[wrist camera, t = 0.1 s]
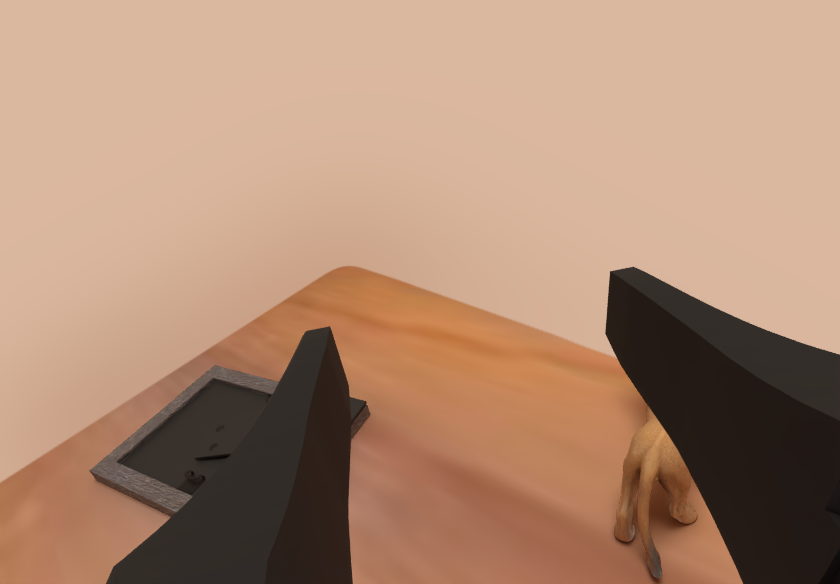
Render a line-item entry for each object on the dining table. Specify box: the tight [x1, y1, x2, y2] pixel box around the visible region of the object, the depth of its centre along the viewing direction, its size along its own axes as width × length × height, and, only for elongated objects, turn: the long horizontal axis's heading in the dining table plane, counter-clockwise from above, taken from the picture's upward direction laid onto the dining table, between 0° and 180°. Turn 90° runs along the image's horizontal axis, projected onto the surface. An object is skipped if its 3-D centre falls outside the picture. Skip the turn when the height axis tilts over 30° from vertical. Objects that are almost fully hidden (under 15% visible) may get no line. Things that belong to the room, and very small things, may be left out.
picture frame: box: [90, 365, 370, 517], centre depth 42 cm, size 13×2×18 cm
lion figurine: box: [614, 405, 698, 578], centre depth 31 cm, size 15×5×9 cm, turn 158°
